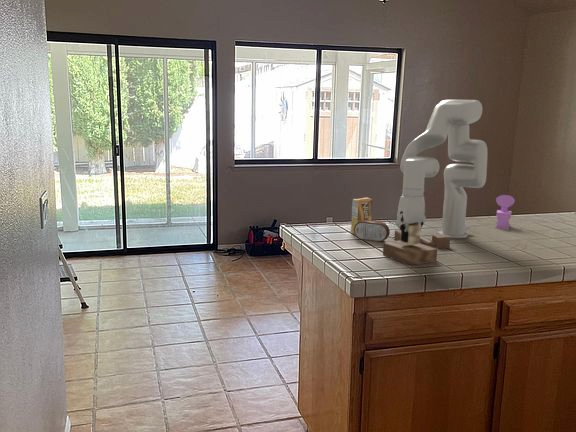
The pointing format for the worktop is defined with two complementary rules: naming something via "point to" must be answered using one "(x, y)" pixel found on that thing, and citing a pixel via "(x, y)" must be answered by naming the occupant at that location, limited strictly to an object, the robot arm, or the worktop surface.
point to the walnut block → (410, 252)
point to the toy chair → (504, 211)
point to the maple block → (413, 234)
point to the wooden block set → (437, 240)
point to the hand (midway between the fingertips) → (409, 240)
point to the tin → (371, 230)
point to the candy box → (361, 211)
